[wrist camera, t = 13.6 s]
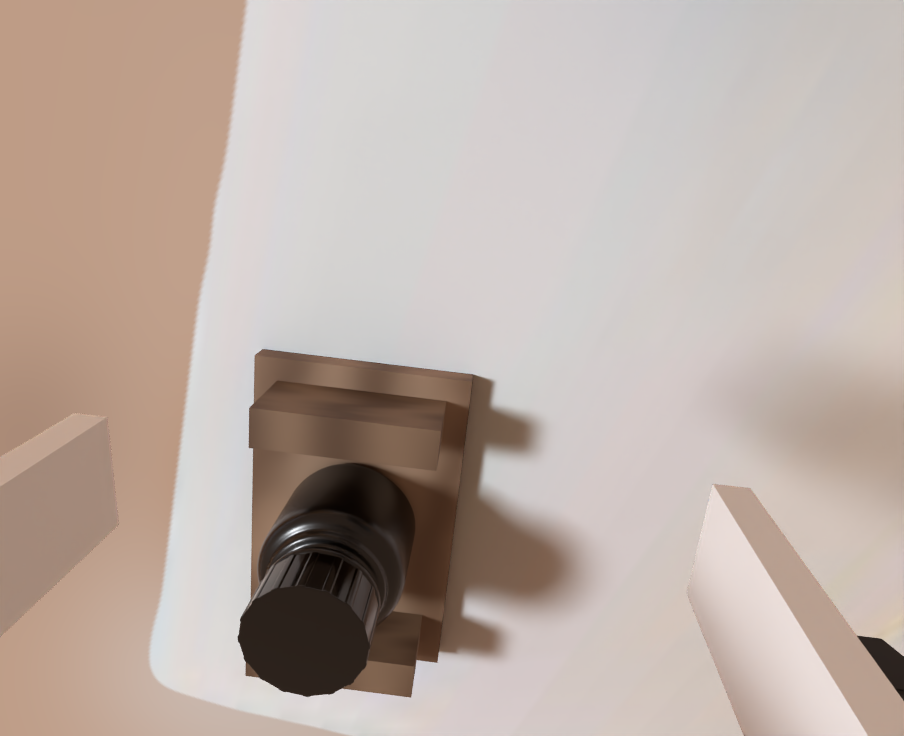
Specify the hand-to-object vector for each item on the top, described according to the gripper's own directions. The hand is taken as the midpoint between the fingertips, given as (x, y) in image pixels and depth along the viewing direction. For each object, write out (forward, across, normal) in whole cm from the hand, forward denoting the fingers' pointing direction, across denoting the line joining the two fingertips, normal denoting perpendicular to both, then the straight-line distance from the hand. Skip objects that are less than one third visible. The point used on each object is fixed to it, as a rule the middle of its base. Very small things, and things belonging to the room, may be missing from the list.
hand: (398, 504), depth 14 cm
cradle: (+27, -7, -17) cm, 32 cm away
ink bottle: (+25, -7, -17) cm, 31 cm away
